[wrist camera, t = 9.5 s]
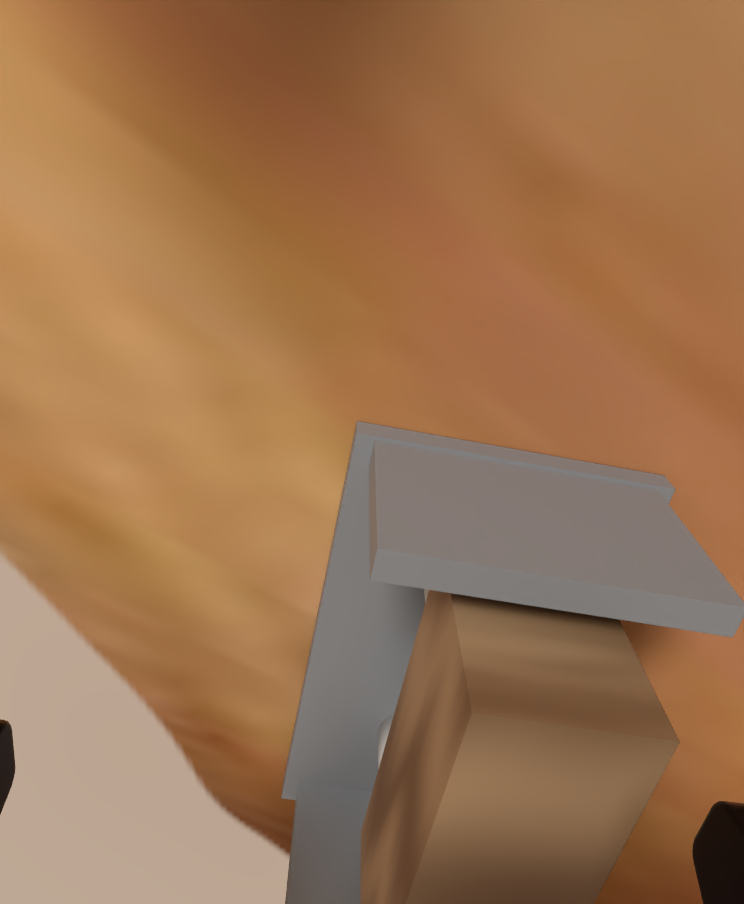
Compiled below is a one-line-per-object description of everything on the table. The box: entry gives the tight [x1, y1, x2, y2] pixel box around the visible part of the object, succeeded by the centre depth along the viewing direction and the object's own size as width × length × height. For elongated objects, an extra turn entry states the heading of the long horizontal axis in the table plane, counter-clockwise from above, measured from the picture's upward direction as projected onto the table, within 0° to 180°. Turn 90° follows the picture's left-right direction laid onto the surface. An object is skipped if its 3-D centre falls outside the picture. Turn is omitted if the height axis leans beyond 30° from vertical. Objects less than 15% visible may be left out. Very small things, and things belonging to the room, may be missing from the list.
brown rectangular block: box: [361, 590, 680, 904], centre depth 18 cm, size 11×4×6 cm, turn 169°
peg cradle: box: [281, 421, 744, 904], centre depth 20 cm, size 14×9×6 cm, turn 169°
